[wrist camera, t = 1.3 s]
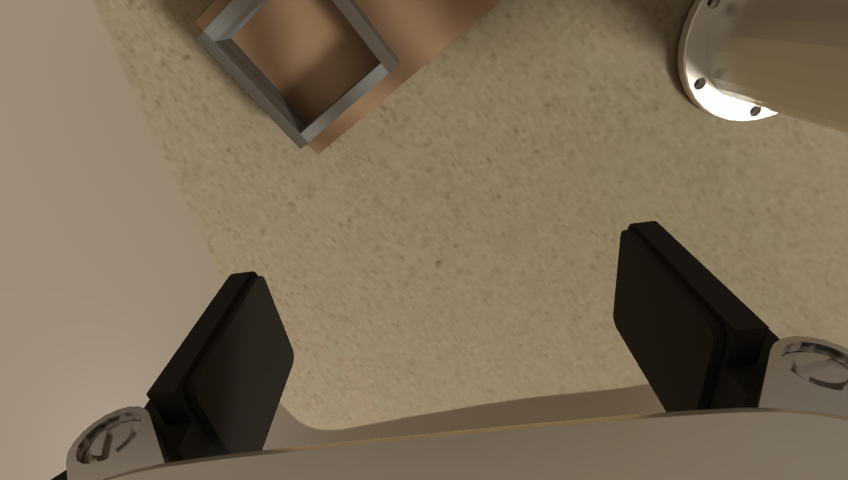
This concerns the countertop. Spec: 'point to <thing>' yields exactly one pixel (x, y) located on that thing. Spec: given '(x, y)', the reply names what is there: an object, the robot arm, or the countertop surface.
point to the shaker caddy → (328, 54)
